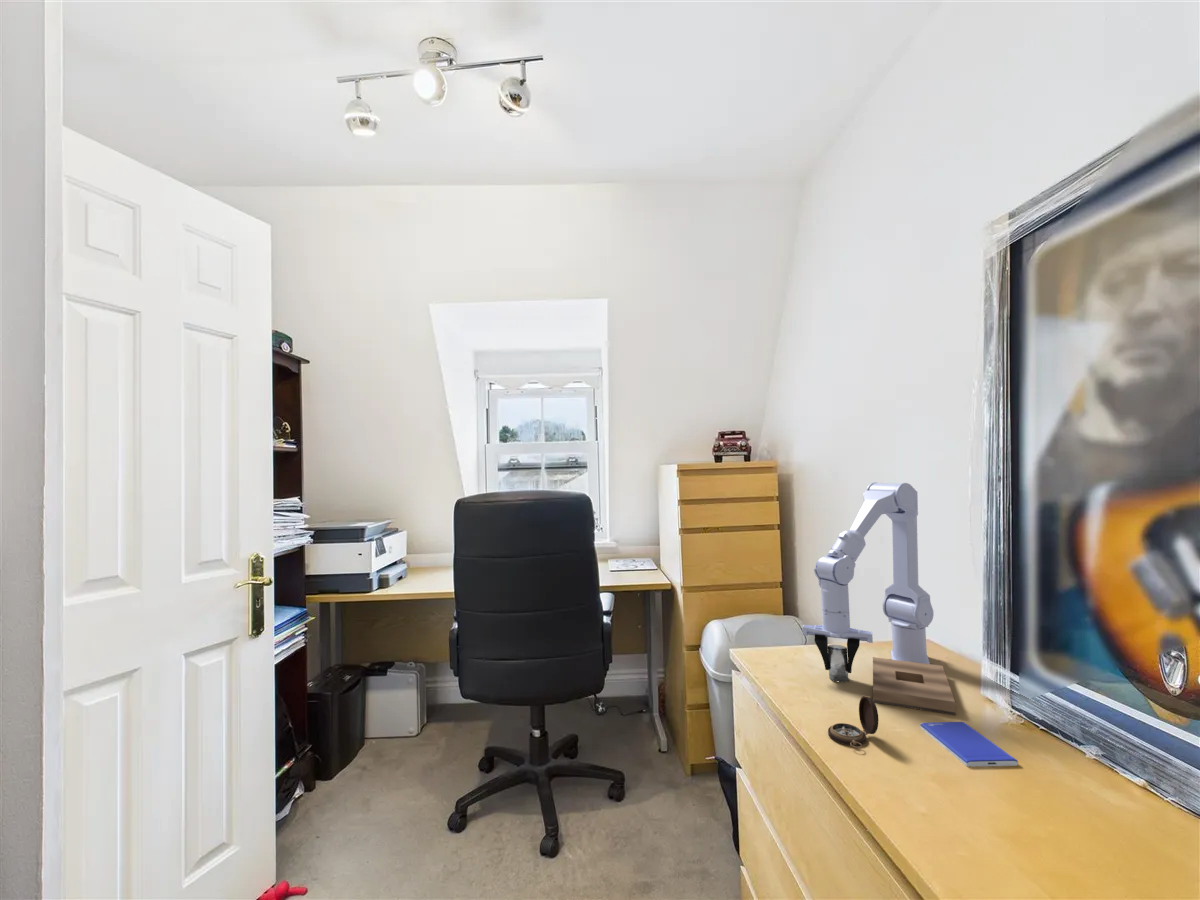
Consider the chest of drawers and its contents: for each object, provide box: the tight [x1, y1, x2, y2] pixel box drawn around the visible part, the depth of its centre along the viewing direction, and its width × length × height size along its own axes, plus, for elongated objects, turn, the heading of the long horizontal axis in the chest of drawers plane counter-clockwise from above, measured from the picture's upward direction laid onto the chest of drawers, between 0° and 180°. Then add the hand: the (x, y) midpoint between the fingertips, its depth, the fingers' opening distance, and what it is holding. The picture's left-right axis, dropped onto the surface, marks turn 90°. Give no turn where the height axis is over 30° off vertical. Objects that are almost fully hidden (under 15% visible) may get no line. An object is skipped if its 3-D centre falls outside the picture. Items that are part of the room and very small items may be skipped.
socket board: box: [872, 656, 957, 716], centre depth 112 cm, size 20×14×2 cm
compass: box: [827, 695, 879, 749], centre depth 92 cm, size 8×8×7 cm
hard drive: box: [919, 721, 1019, 768], centre depth 89 cm, size 2×8×12 cm
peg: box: [828, 644, 849, 683], centre depth 119 cm, size 4×4×7 cm
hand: (838, 670), depth 119 cm, fingers closed on peg, 4 cm apart
